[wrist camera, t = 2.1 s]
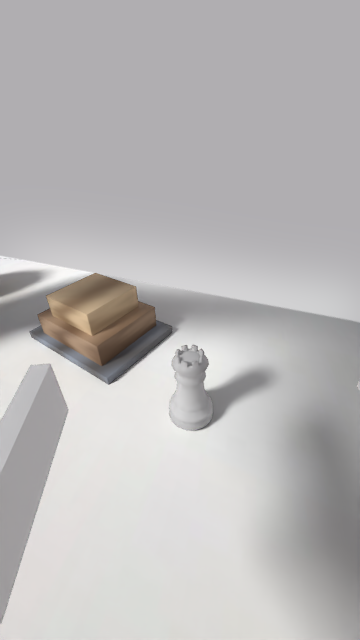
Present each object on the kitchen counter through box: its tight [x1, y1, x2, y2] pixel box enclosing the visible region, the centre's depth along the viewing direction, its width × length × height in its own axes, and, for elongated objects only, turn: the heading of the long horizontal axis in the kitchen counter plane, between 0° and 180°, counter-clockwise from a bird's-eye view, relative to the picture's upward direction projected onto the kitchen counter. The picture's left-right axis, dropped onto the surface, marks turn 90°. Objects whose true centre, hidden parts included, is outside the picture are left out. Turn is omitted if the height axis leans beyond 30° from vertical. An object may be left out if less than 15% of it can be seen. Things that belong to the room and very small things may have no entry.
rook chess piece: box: [169, 345, 213, 430], centre depth 27 cm, size 4×4×8 cm
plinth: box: [30, 273, 172, 384], centre depth 39 cm, size 16×12×7 cm
